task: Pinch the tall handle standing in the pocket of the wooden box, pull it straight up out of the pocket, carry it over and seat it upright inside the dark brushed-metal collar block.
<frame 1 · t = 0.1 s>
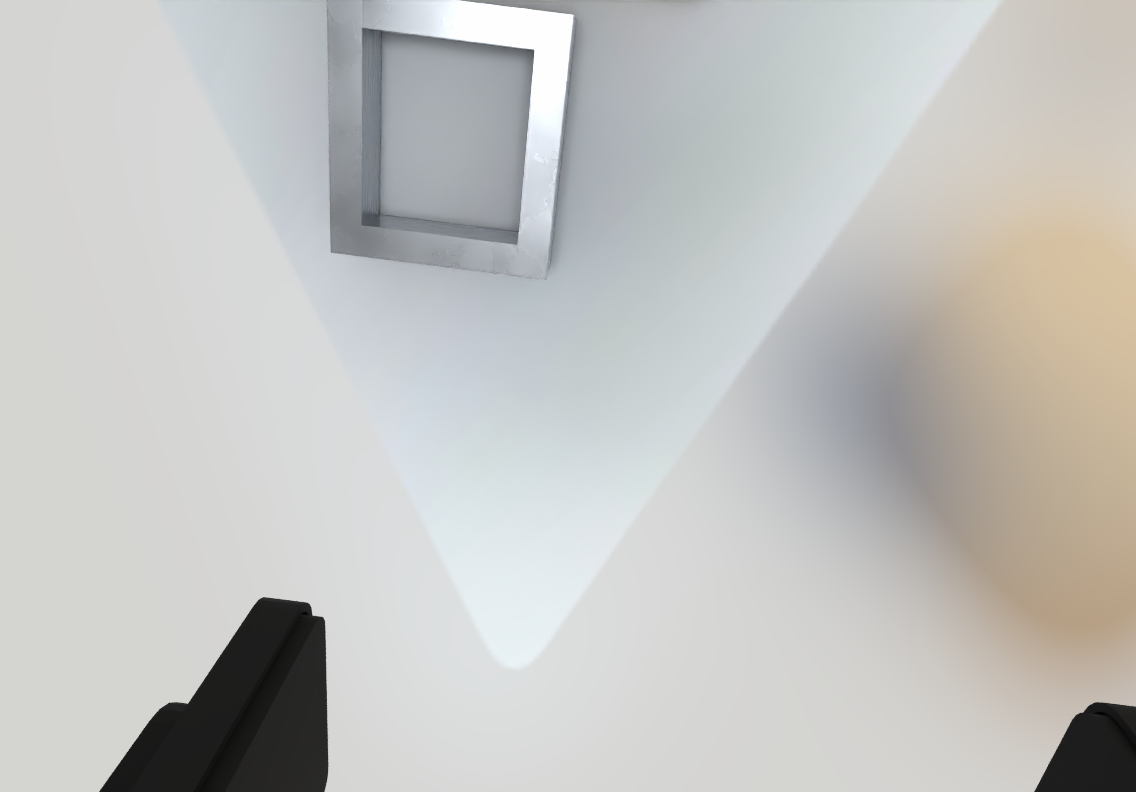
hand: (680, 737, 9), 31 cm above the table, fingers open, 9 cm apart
collar: (456, 136, 36), on the table
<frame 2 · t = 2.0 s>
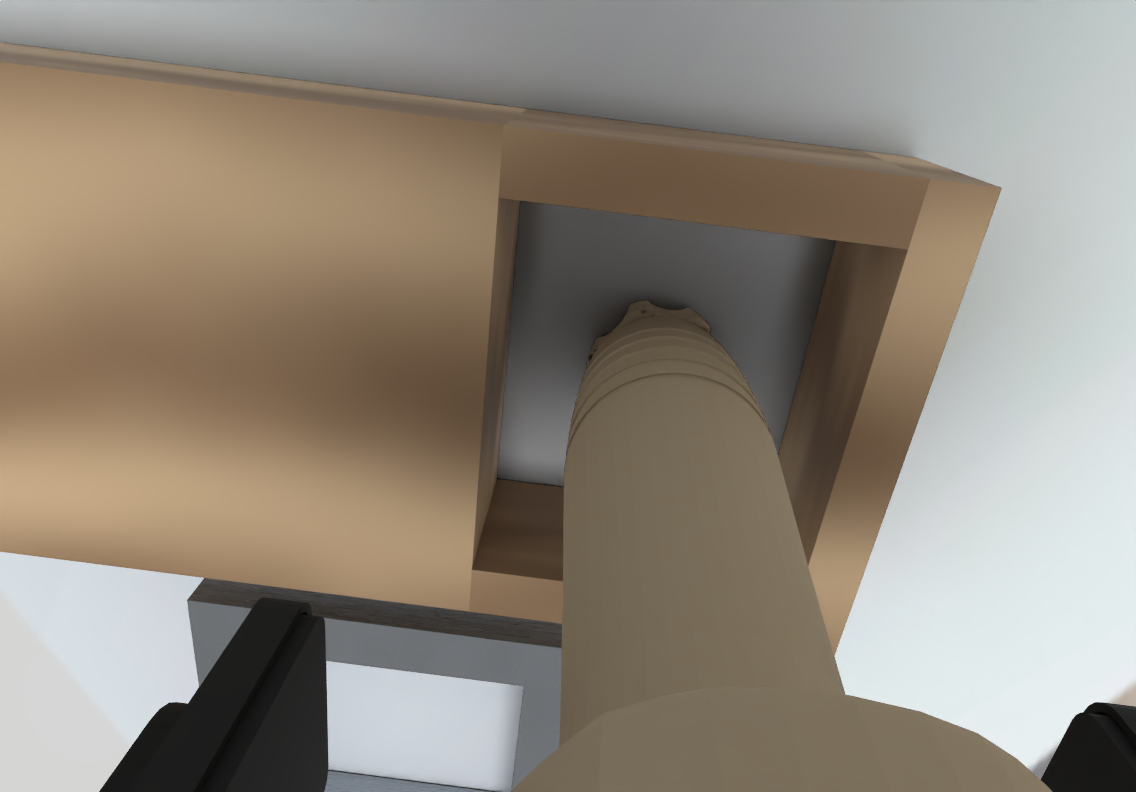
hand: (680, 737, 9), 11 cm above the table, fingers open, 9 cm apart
collar: (410, 694, 24), on the table
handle: (653, 353, 19), resting in wooden box
wooden box: (421, 326, 19), on the table
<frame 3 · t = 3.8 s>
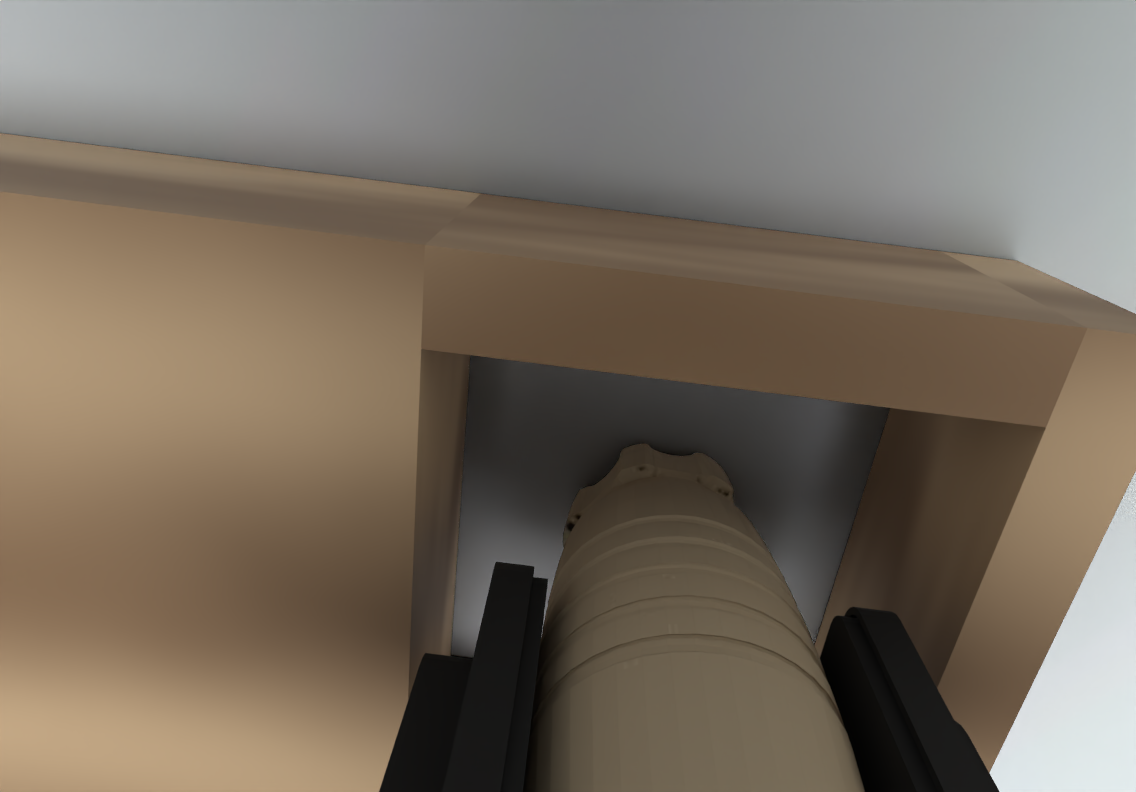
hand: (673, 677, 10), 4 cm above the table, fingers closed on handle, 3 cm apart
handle: (654, 504, 14), resting in wooden box, touching gripper
wooden box: (345, 471, 14), on the table
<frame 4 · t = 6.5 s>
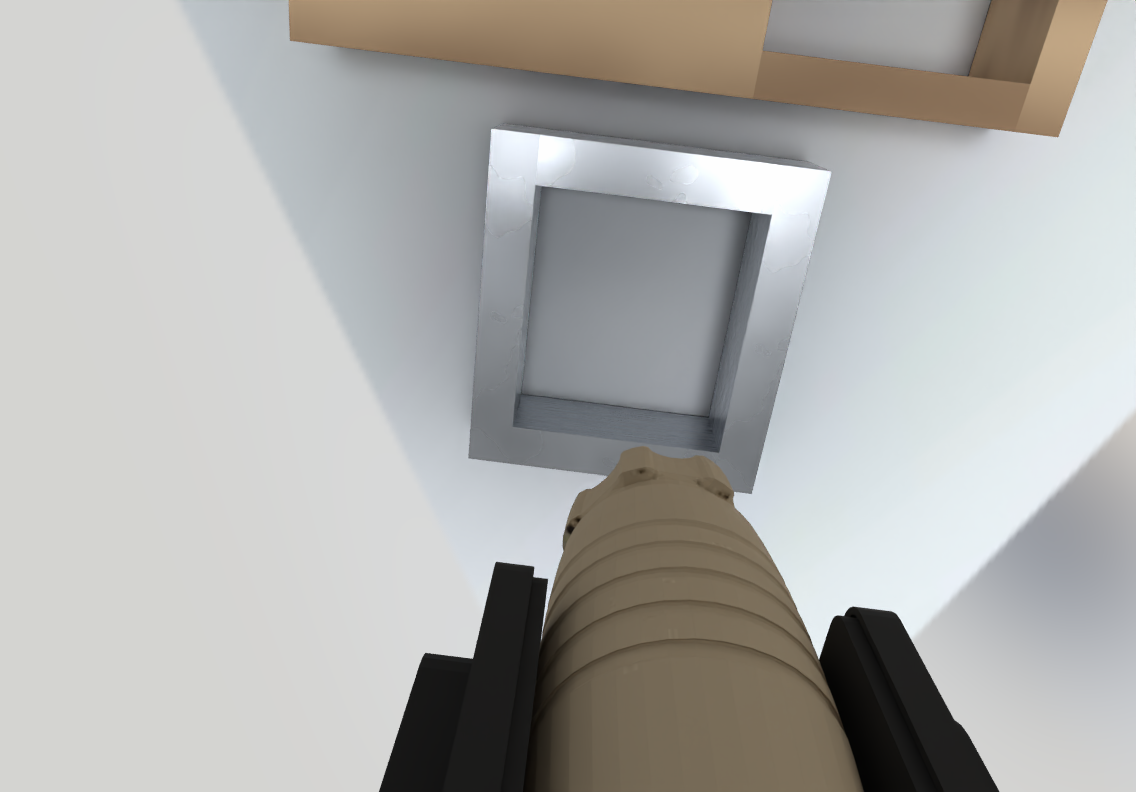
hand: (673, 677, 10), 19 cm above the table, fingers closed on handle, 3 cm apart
collar: (630, 303, 28), on the table
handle: (654, 507, 14), point 14 cm above the table, touching gripper
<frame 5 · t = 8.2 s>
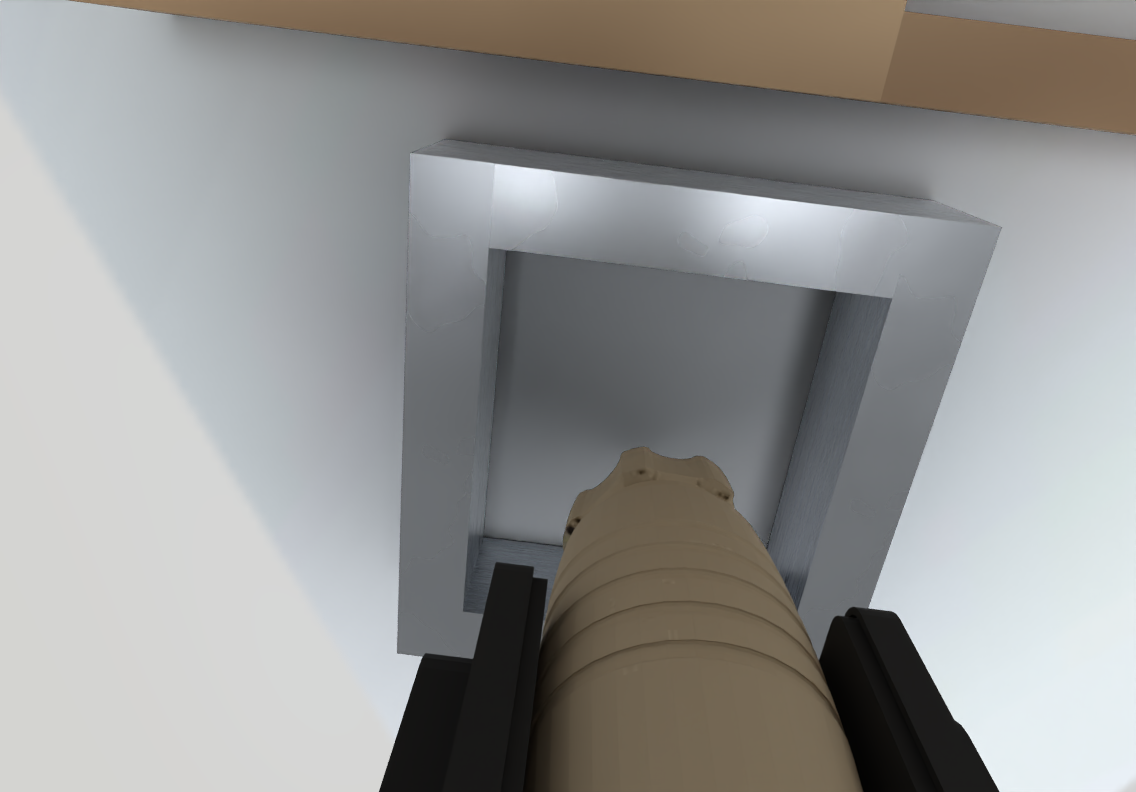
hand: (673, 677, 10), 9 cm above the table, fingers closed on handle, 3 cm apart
collar: (646, 411, 18), on the table
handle: (654, 507, 14), point 4 cm above the table, touching gripper
when the fingers open (6 cm above the table, at t = 9.6 s): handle drops 1 cm, resting in collar.
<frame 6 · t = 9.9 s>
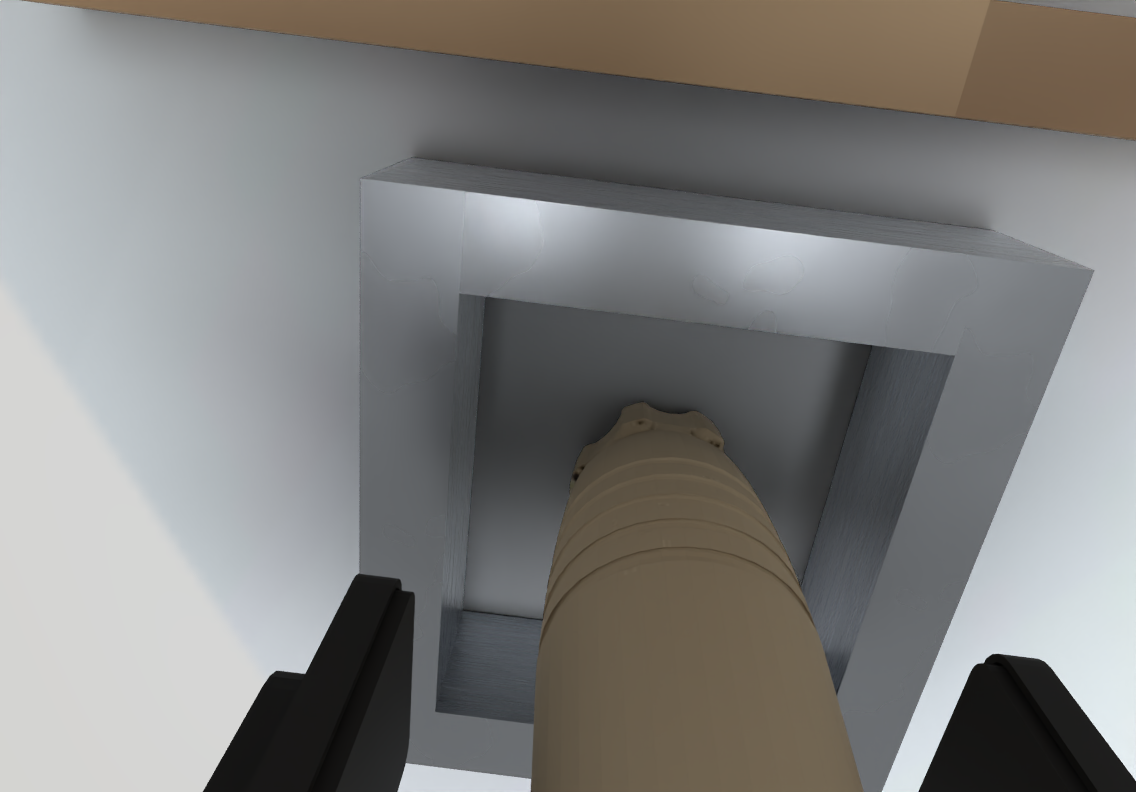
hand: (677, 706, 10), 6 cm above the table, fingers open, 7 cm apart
collar: (651, 472, 16), on the table
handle: (653, 460, 16), resting in collar
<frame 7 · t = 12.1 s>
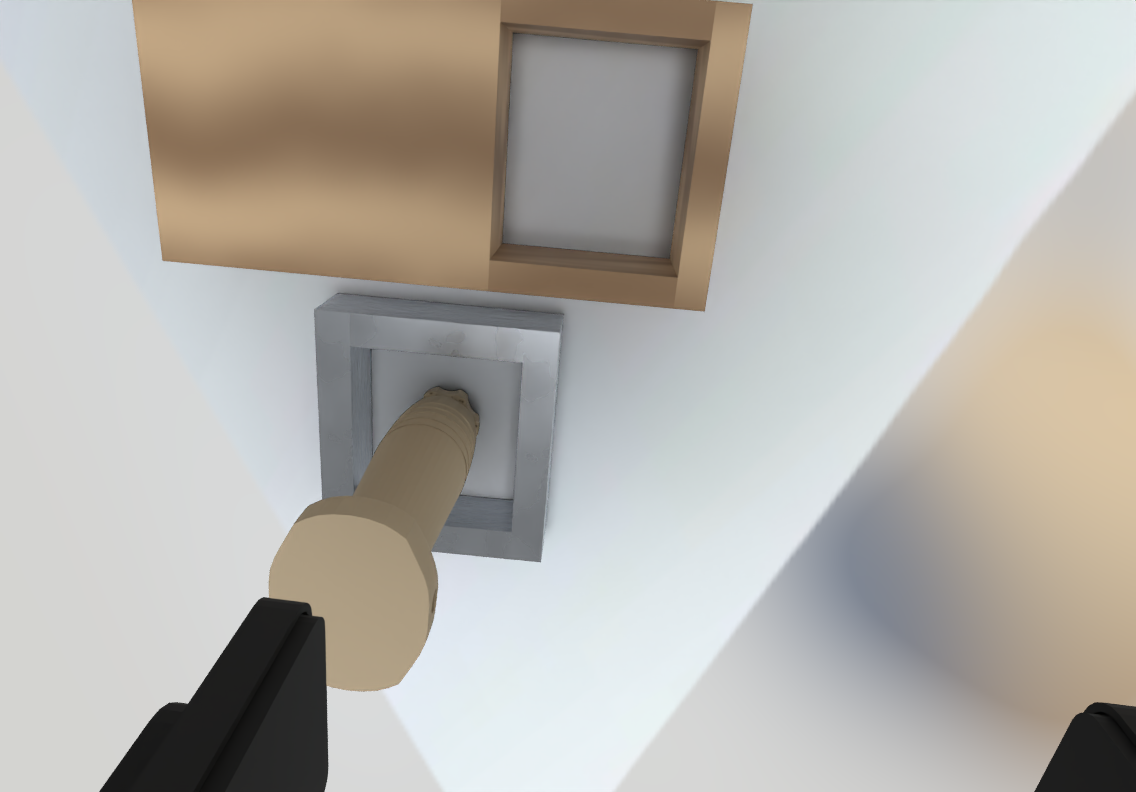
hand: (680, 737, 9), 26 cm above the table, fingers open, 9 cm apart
collar: (447, 417, 36), on the table
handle: (448, 412, 36), resting in collar
wooden box: (454, 138, 31), on the table
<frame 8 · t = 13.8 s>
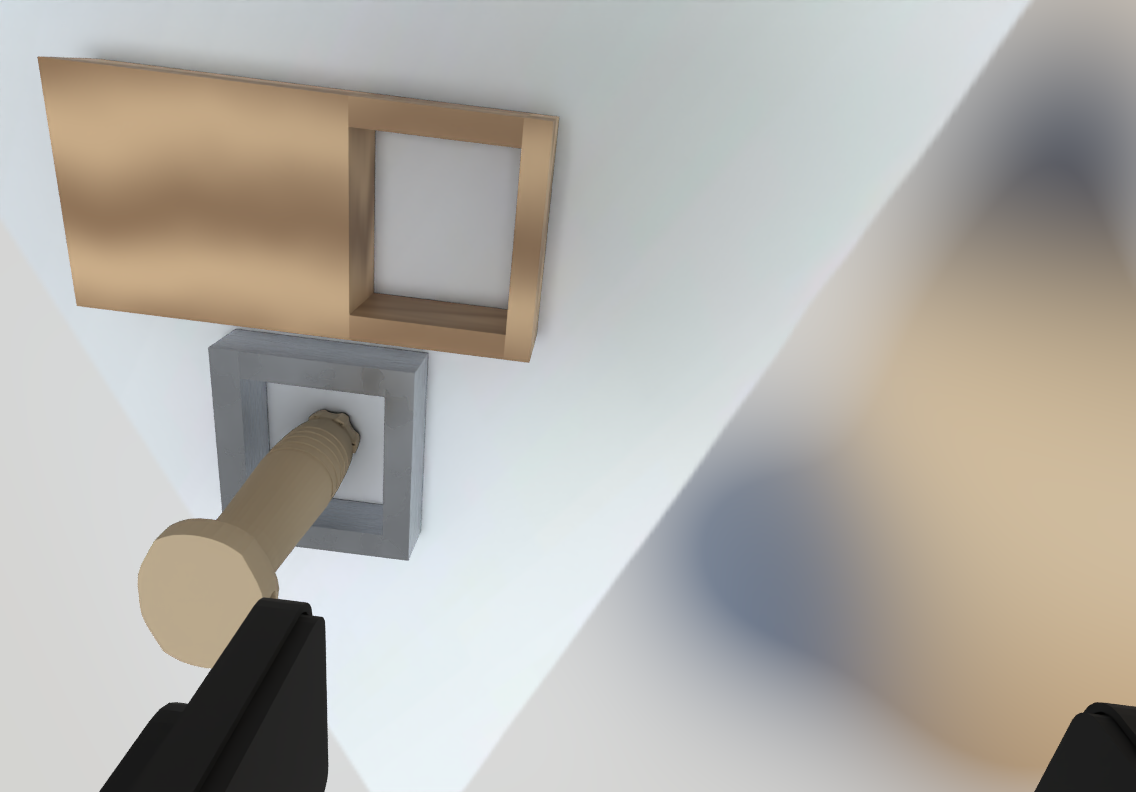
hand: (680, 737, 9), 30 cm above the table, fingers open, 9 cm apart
collar: (333, 435, 42), on the table
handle: (334, 431, 42), resting in collar
wooden box: (329, 205, 37), on the table
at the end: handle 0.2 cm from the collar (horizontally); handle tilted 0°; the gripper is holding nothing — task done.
